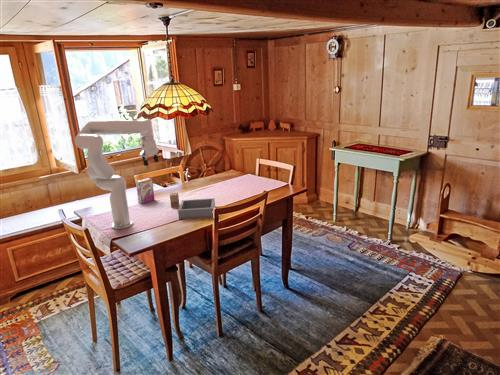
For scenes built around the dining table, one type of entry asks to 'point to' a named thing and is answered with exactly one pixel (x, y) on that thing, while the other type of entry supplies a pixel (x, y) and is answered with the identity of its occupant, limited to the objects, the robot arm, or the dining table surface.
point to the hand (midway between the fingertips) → (151, 163)
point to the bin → (196, 208)
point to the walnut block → (174, 200)
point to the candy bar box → (145, 190)
